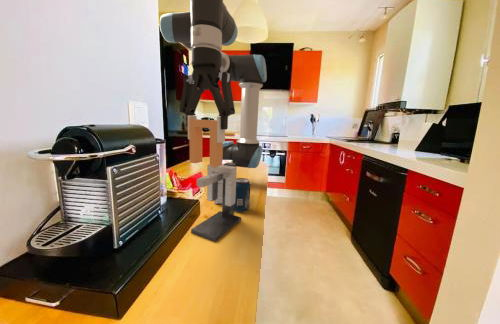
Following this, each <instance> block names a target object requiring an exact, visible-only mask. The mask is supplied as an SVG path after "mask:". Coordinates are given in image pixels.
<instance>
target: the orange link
mask: <svg viewBox="0 0 500 324" xmlns="http://www.w3.org/2000/svg"><path fill="white" fill-rule="evenodd" d="M203 128H204V129H205V128H206V129H209V164H210V166H212V167H218V166H221V165H222V159H223V142H221V143H217V119H216V120H215V119H214V120H213V119H198V118H197V119H189V138H190V139H189V163H191V164H198V163H201V162H202V163H203Z"/></svg>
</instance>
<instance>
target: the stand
mask: <svg viewBox="0 0 500 324" xmlns="http://www.w3.org/2000/svg"><path fill="white" fill-rule="evenodd" d="M223 165H227V166H233V167H236V163H229V162H228V163H224V164H223ZM222 179H223V199H222V205H221V207H222V208H221V211H220V210H219V211H217V212H216V213H215V214H213V215H212V216H210V217H208V218H206V219H205V220H203V221H202V222H200V223H199V224H197V225H195V226H194V227H193V228H191V230H190V232H191V234H193V235H197V236H199V237H201V238H205V239H206V240H209V241H212V242H214V243H215V242H217V241H219V239H221V238H222V237H223V236H224V235H225V234H227V233H228V232H229V231H230V230H231V229H233V228H234V227H235V226H236V225H237V224H239V223H240V222H241V221H242V216H238V215H235V211H234V204H233V205H232V206H227V205H225V184H226V174H222V173H213V174H210V175H205V176H201V177H199V178H196V187H198V188H199V187H200V188H205V187H207V185H210V184H212V183H215V182H217V181H220V180H222Z"/></svg>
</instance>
